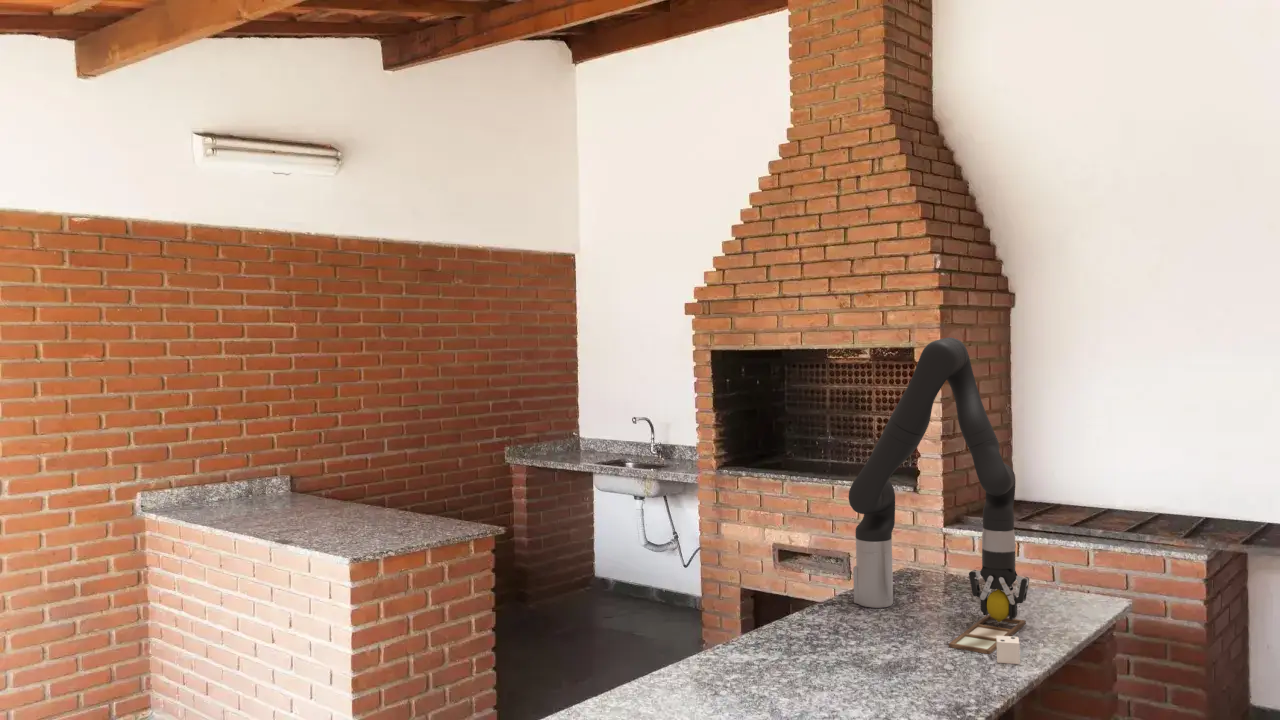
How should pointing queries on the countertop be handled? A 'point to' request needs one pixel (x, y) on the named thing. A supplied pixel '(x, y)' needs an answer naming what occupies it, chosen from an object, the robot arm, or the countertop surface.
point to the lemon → (998, 605)
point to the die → (1008, 649)
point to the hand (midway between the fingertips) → (999, 616)
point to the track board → (984, 636)
